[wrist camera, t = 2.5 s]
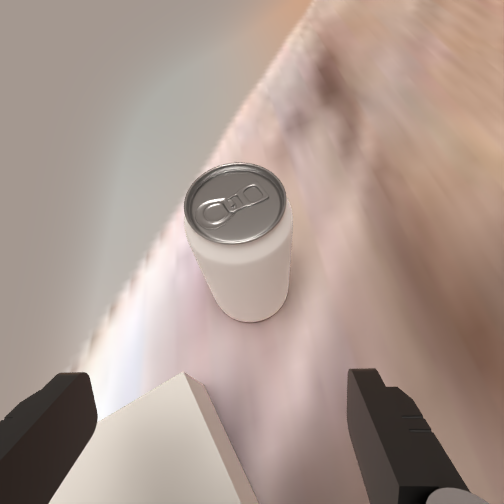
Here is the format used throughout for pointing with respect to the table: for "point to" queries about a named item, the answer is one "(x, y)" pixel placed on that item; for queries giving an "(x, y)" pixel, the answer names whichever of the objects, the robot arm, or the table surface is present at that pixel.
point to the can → (241, 238)
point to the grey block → (159, 454)
